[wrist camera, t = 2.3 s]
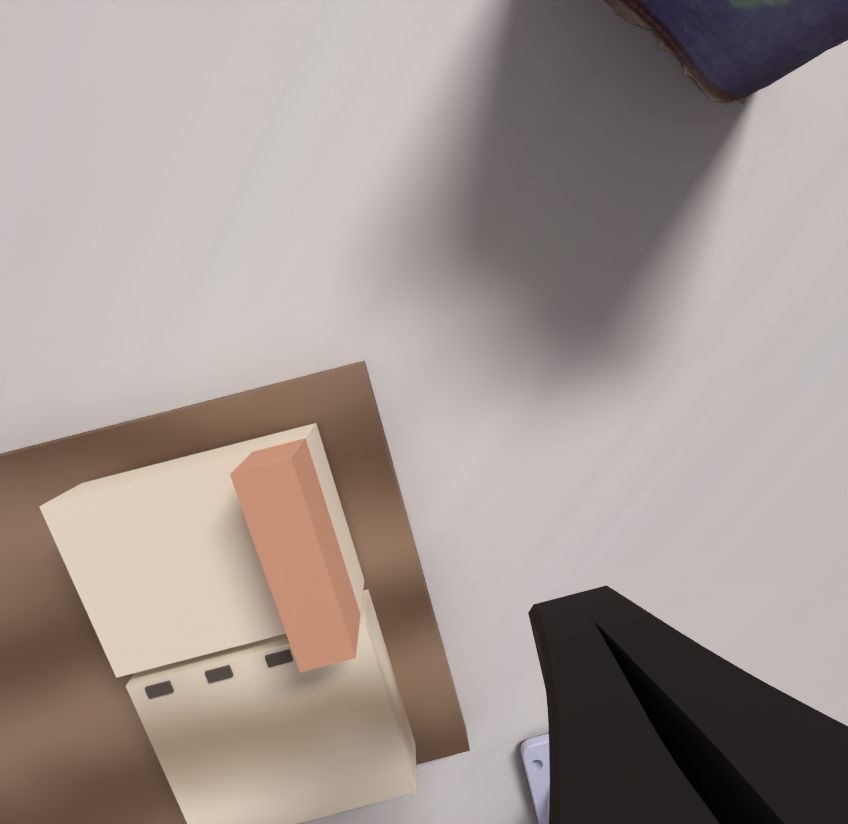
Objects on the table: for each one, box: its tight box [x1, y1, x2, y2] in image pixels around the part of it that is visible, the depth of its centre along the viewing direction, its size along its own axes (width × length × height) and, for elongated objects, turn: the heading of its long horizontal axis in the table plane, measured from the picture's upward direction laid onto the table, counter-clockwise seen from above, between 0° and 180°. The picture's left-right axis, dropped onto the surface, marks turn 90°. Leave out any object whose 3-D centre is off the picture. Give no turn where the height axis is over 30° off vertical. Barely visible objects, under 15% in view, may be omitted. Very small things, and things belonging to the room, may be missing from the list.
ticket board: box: [0, 361, 470, 824], centre depth 17 cm, size 16×20×3 cm
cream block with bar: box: [39, 423, 364, 678], centre depth 15 cm, size 6×8×4 cm
